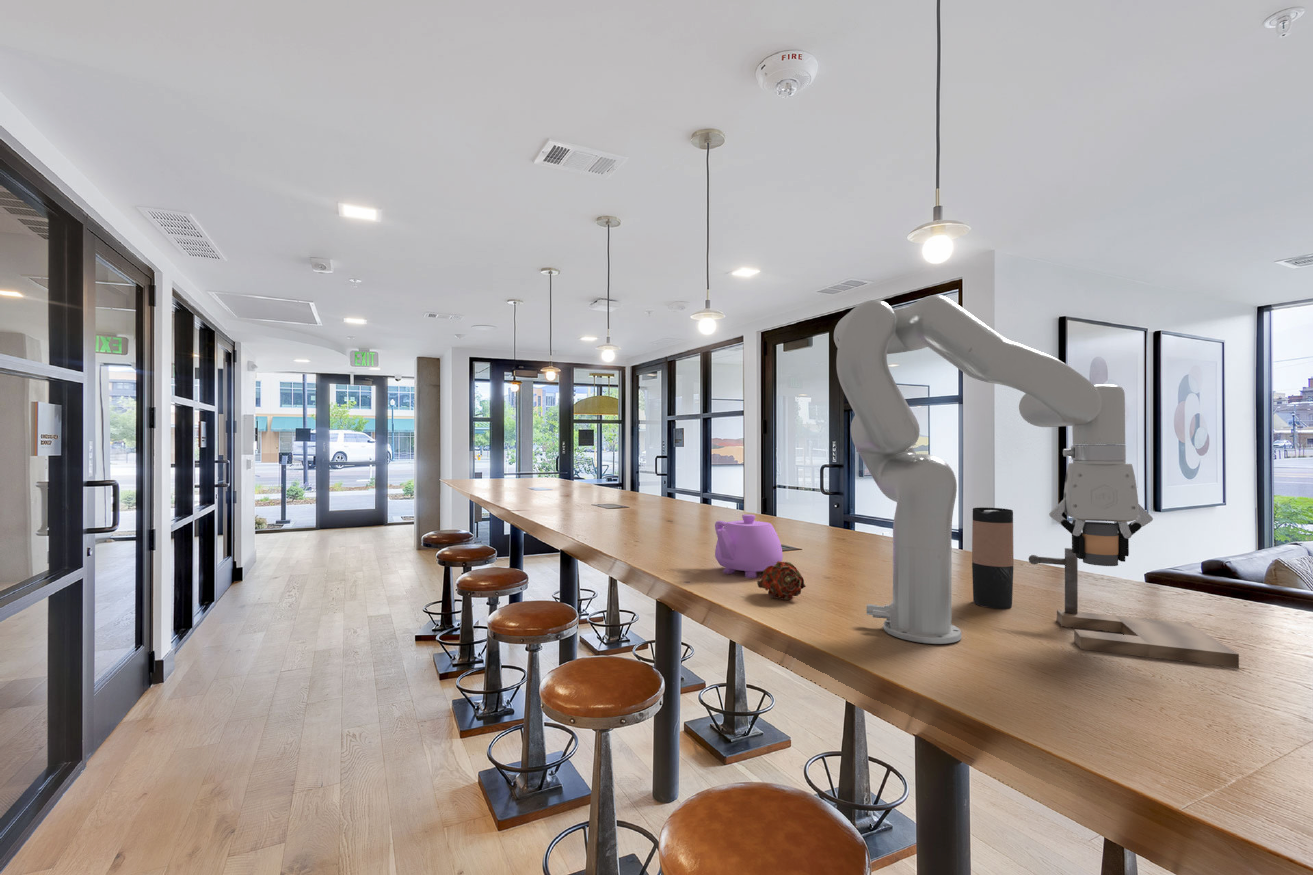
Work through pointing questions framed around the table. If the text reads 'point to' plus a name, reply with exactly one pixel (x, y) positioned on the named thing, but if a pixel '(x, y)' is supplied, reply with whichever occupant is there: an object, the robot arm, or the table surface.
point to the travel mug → (992, 557)
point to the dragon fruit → (782, 580)
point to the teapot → (747, 546)
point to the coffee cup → (1101, 543)
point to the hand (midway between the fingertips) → (1099, 557)
